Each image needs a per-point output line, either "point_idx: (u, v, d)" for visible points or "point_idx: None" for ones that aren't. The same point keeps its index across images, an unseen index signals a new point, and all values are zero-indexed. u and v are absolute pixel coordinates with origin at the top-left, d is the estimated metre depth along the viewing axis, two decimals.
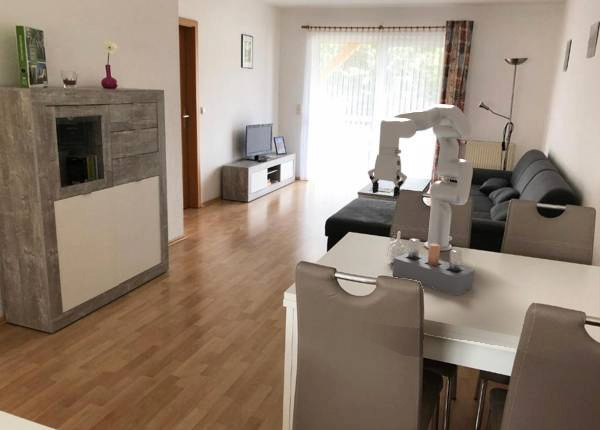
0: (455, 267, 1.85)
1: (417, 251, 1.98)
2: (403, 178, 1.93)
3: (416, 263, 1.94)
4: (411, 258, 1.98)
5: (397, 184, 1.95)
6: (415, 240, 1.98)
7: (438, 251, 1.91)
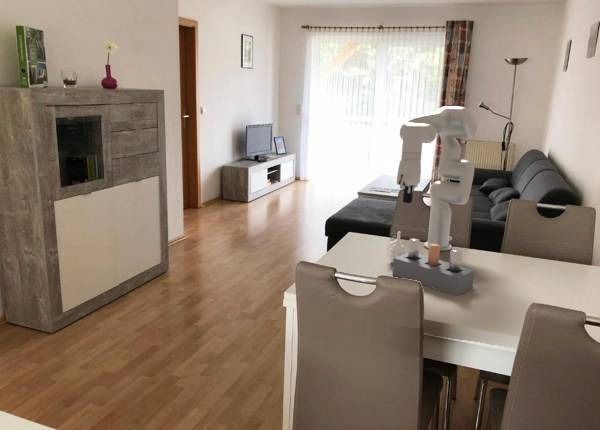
0: (455, 267, 1.85)
1: (417, 251, 1.98)
2: (416, 185, 2.02)
3: (416, 263, 1.94)
4: (411, 258, 1.98)
5: (413, 190, 2.00)
6: (415, 240, 1.98)
7: (438, 251, 1.91)
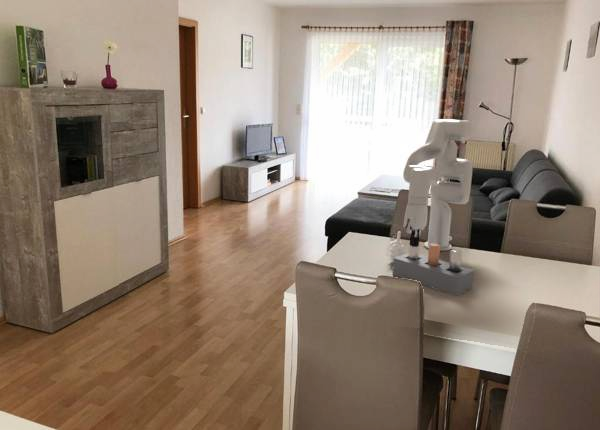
0: (455, 267, 1.85)
1: (417, 257, 1.98)
2: (422, 228, 2.00)
3: (416, 263, 1.94)
4: None
5: (420, 233, 1.97)
6: None
7: (438, 251, 1.91)
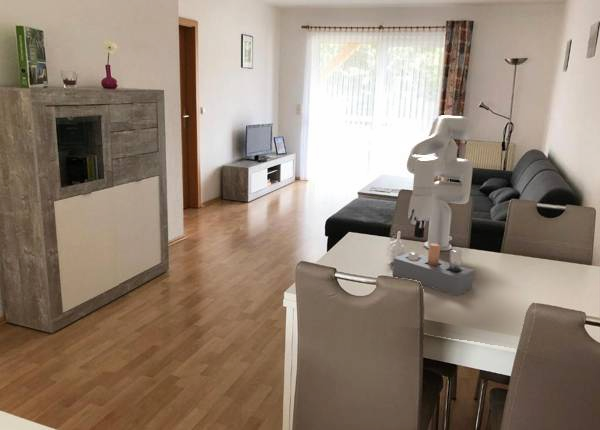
0: (455, 267, 1.85)
1: None
2: (427, 219, 1.97)
3: (416, 263, 1.94)
4: None
5: (424, 224, 1.95)
6: (414, 253, 1.99)
7: (438, 251, 1.91)
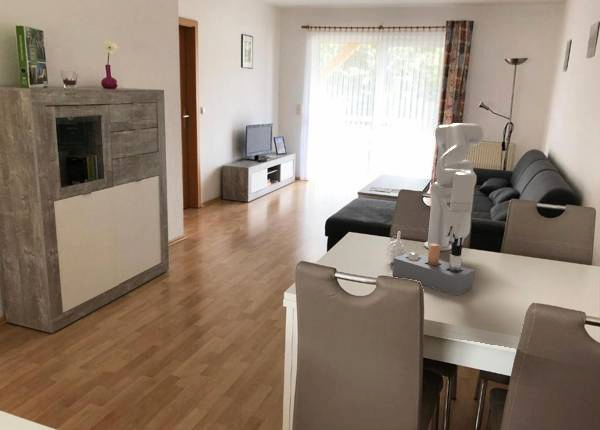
0: (455, 271, 1.86)
1: None
2: (465, 236, 1.87)
3: (416, 263, 1.94)
4: None
5: (462, 241, 1.85)
6: (414, 253, 1.99)
7: (438, 251, 1.91)
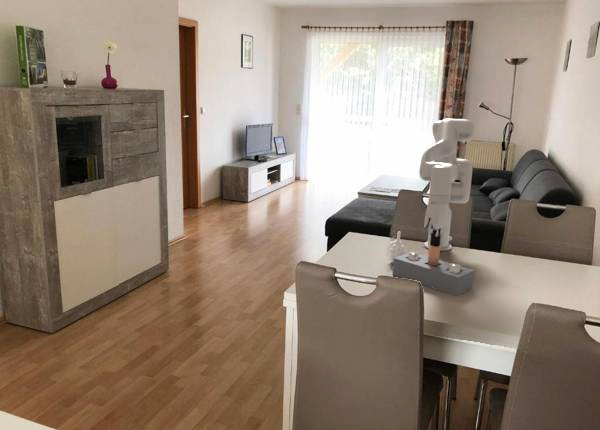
0: None
1: None
2: (443, 227, 1.93)
3: (416, 263, 1.94)
4: None
5: (441, 232, 1.91)
6: (414, 253, 1.99)
7: (438, 251, 1.91)
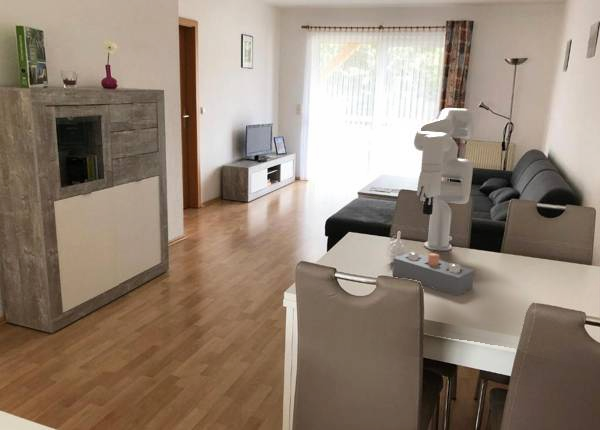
0: None
1: None
2: (436, 196, 1.97)
3: (416, 263, 1.94)
4: None
5: (433, 201, 1.95)
6: (414, 253, 1.99)
7: (437, 261, 1.92)
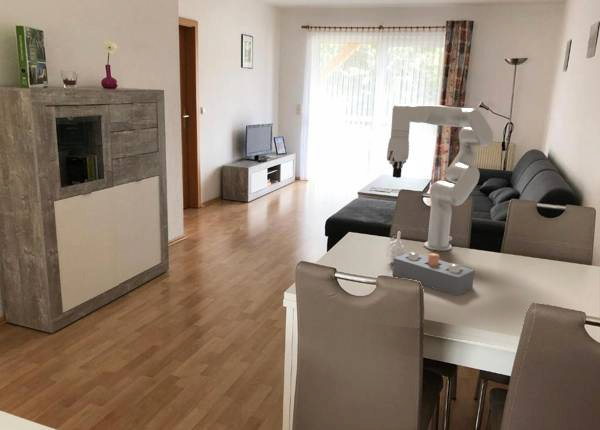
0: None
1: None
2: (404, 161, 2.19)
3: (416, 263, 1.94)
4: None
5: (402, 165, 2.17)
6: (414, 253, 1.99)
7: (437, 261, 1.92)
